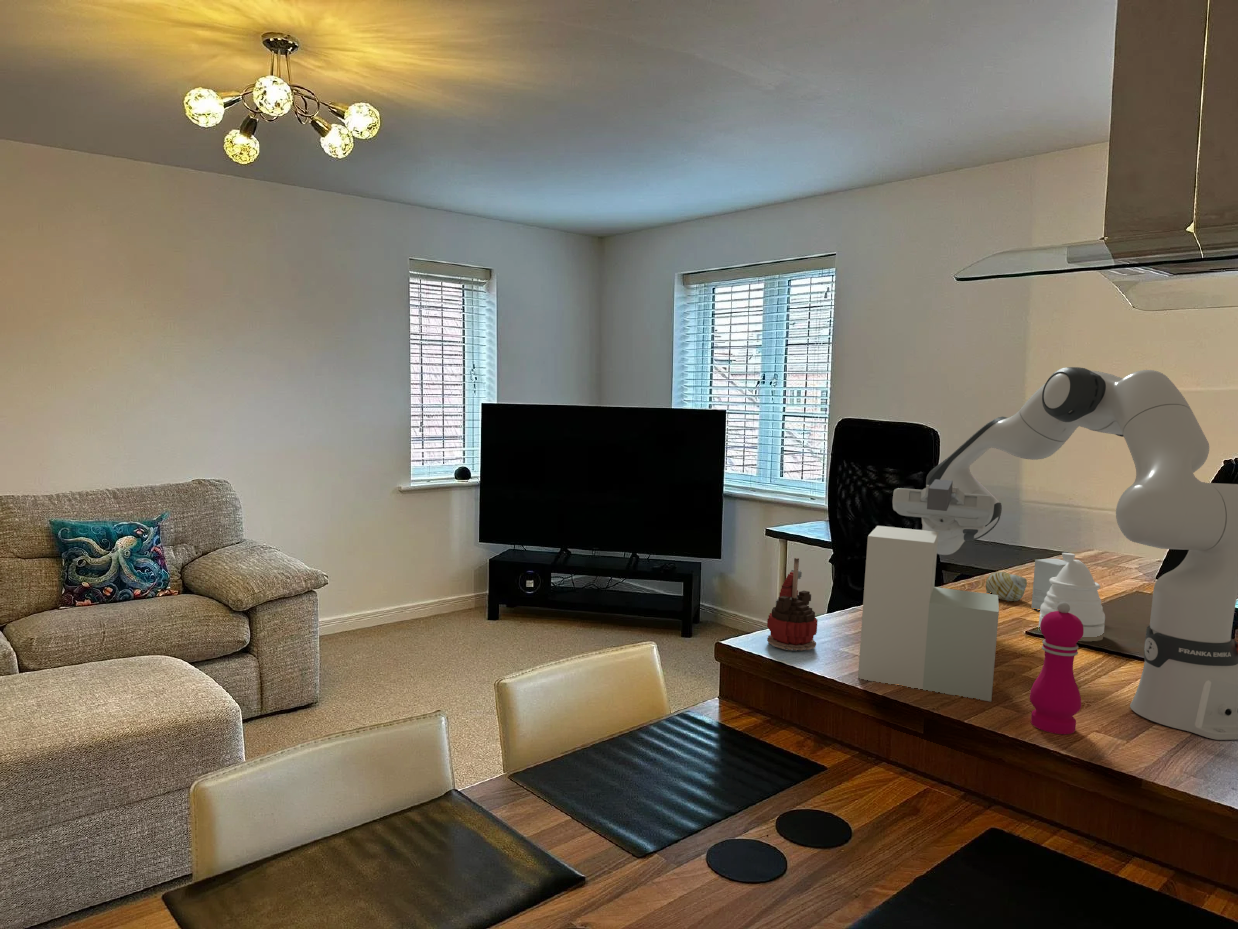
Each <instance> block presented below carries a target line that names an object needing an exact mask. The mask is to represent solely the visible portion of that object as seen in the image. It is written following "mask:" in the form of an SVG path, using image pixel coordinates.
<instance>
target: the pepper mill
mask: <svg viewBox="0 0 1238 929" xmlns="http://www.w3.org/2000/svg"><path fill="white" fill-rule="evenodd" d="M1057 609H1058V611H1054V612H1050V613H1048V614H1046V615H1045V616H1044V617H1043V618H1042V621H1041V624H1040V630H1041V634H1042V635H1043V637H1044V639H1043V640H1042V641H1041V642H1042V645H1041V649H1042V650H1043V651H1044V659H1043V665H1042V668H1041V670H1040V672H1039V674H1038V676H1037V677H1036V679H1035V680H1034V682H1033V683H1032V686H1031V688H1030V693H1029V700H1030V703H1031V705H1032V706H1033V708H1034V709H1033V710H1031V716H1030V723H1031V725H1032V726H1033V727H1034V728H1036V729H1038V730H1040V731H1044V732H1047V733H1050V734H1056V735H1072V734H1073V733H1075V731H1076V726H1077V725H1076V724H1077V720H1076V718H1075V717H1074V716H1075V715H1076V714H1077V713H1079V712H1080V710H1081V708H1082V697H1081V693H1080V690H1079V687H1078V685H1077V682H1076V679H1075V676H1074V661H1075V656H1077V655H1078V654H1079V652H1078V650H1079V645H1078V644H1077V643H1078V641H1079V640H1080V639H1081V638H1082V636H1083V633H1084V629H1083V624H1082V622H1081V621H1080V619H1079V618H1078V617H1076V616H1075V615H1073V614H1071V613H1068V612H1069V610H1070V606H1069V604H1067V603H1066V602H1061V603H1059V604H1058V606H1057Z"/></svg>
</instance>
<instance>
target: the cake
mask: <svg viewBox="0 0 1238 929" xmlns="http://www.w3.org/2000/svg"><path fill="white" fill-rule="evenodd" d="M799 564H800V558H799V557H794V562H793V569H791V570H790V571H789V573H788V574H787V576H786V578H785V579H784V581H783V583H782V585H781V588H780V592H779V593H778V594H779V596H778V598H776V600H775V607H772V609H771V612H770V613H769V615H768V618H767V621H766V622H767V623H766V626H767V629H768V630H769V632H770V633H769V634H770V635H768V636H767V637H766V638H767V640H766V641H767V642H768V644H769V645H772V646H773V647H776V648H778V649H782V650H786V649H787V650H786V651H789V650H790V651H793V650H795V651H797V650H800V651H805V650H806V651H810V650H813V649H815V648H816V645H817V642H816V641H815V639H814V638H815V635H817V633H818V622H819V621H818V620H819V619H818V618H816V611H814V610H813V607H810V602H811V601H812V594H811V593H810V591H808V590H801V591H799V590H798V584H799V583H798V582H799V580H800V579H801V578H802V576H803V575H802V574H803V573H802V570H799V567H800V566H799Z"/></svg>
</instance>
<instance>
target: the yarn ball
mask: <svg viewBox="0 0 1238 929" xmlns="http://www.w3.org/2000/svg"><path fill="white" fill-rule="evenodd" d="M1027 585H1028V581H1027V578H1025V577H1023V576H1020V575H1018V574H1012V573H1009V572H1006V571H996V572H993V573H991V574H990V575H989V574H988V576H987V578H986V580H985V590H986V593H989V594H990V592H991V593H992V594H995V595H998V600H999V599H1000V600H1001V599H1002V601H1004V600H1007V601H1006V602H1009V601H1014V602H1018V601H1020V600H1021V599H1022V598H1023V597H1024V594H1025V591H1026V588H1027Z"/></svg>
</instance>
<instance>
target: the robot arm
mask: <svg viewBox="0 0 1238 929" xmlns="http://www.w3.org/2000/svg"><path fill="white" fill-rule="evenodd" d="M1079 427H1081V428H1084V429H1088V430H1090V431H1093V432H1097V433H1103V434H1110V435H1115V436H1118V437H1123V438H1124V440H1125V443H1126V446H1127V447H1128V450H1129V452H1130V456H1131V458H1132V461H1133V463H1134V468H1135V474H1136V475H1135V478H1134V482H1133V483H1132V484H1131V485H1130V486H1129V487H1127V488H1126V489H1125V491H1124V492H1122V493H1121V495H1120V497H1119V499H1118V501H1117V504H1116V508H1115V509H1116V510H1115V521H1116V522H1117V525H1118V528H1119V530H1120V532H1121V533H1122V534H1123V536H1124V537H1125V538H1126V539H1127V540H1128V541H1129V542H1132V543H1136V544H1139V545H1143V546H1148V547H1150V548H1151V547H1152V548H1157V549H1163V550H1184V551H1185V550H1187V554H1186V555H1185V557H1184V558H1183V560H1182V561H1181V562H1180V564H1179V565H1177V566H1176V567H1175V568H1174V569H1172V570H1170V571H1168V572H1166V573H1164V574H1162V575H1161V576H1160V577H1158V579H1157V580H1156V581H1155V584H1154V586H1153V590H1152V592H1153V593H1152V602H1151V611H1150V622H1149V625H1148V626H1146V631H1145V637H1144V638H1145V639H1144V646H1143V647H1144V649H1143V659H1144V662H1143V669H1142V671H1141V672H1142V673H1141V677H1140V679H1139V683H1138V687H1137V689H1136V691H1135V693H1134V696H1133V698H1132V700H1131V702H1130V705H1129V707H1130V709H1131V710H1132V711H1133V712H1134V713H1136V714H1137V715H1139V716H1141V717H1142V718H1145V719H1147V720H1150V721H1151V722H1154V723H1157V724H1160V725H1163V726H1166V727H1170V728H1173V729H1178V730H1182V731H1187V732H1190V733H1193V734H1196V735H1199V736H1202V737H1205V738H1209V739H1212V740H1216V741H1217V740H1218V741H1220V740H1221V741H1222V740H1225V741H1226V740H1227V741H1228V740H1238V642H1237V641H1235V640H1234V639H1232V630H1233V622H1234V615H1235V611H1236V604H1237V600H1238V599H1237V598H1238V483H1219V482H1218V483H1216V482H1214V483H1213V482H1205V481H1204V482H1203V481H1201V480H1199V479H1198V478H1197V476H1196V475H1195V474H1194V473H1195V472H1197V471H1199V470H1200V468H1202V466H1204V464H1205V463H1206V461H1207V460H1208V456H1209V453H1210V444H1209V441H1208V439H1207V437H1206V434H1205V433H1204V432H1203V430H1202V427H1201V426H1200V424H1199V421H1198V419H1197V418H1196V416H1195V414H1194V412H1193V410H1192V408H1191V406H1190V404H1189V403H1188V401H1187V400H1186V399H1185V397H1184V395H1183V394H1182V392H1181V391H1180V389H1179V388H1178V387H1177V386H1176V385H1175V384H1174V383H1173V381H1172V380H1171V379H1170V378H1169V377H1168V376H1167V375H1166V374H1164V373H1163V372H1160V371H1157V370H1154V369H1142V370H1138V371H1134V372H1131V373H1129V374H1127V375H1125V376H1124V377H1120V376H1116V375H1114V374H1112V373H1108V372H1103V371H1097V370H1090V369H1087V368H1085V367H1078V366H1077V367H1076V366H1070V367H1069V366H1068V367H1067V366H1066V367H1061V368H1060V369H1058V370H1056V371H1054V372H1053V373H1052V374H1051V376H1049V378H1048V379H1047V381H1046V382H1045V383H1044V384H1043V385H1041V386H1040V387H1039V388H1038V389H1036V391H1035V392H1034V393H1033V394H1031V396H1030V397H1029V398H1028V399H1027V400H1026V401H1025V402H1024V404H1023V405H1022V406H1021V408H1020V409H1019V410H1018V411H1017V412H1015V413H1014V414H1013V415H1012V416H1010V417H1006V416H1000V417H999V416H998V417H996V418H994V419H992V420H990V421H988V422H987V423H985V425H983V426H981V427H980V428H979V430H977V431H976V432H975V433H973V435H972V436H970V437H969V438H968V439H967V440H966V441H965V442H964V443H962V444H961V445H960V446H959V447H958V448H957V449H956V450H955V451H954V452H953V453H951V454H950V455H949V456H948V457H947V458H945V459H944V460H943V461H941V462H940V463H938V464H937V465H936V466H935V467H933V468H932V469H931V470H930V471H929V472H928V474H927V475H926V480H925V487H924V488H923V489H915V488H905V487H904V488H902V487H900V488H899V487H898V488H895V489H894V490H893V493H892V495H893V496H892V509H893V511H894V512H896V513H897V514H898V515H900V516H905V517H913V518H921V524H922V528H921V530H926V531H936V532H938V545H937V555H943V556H948V555H953V554H954V553H956V552H957V551H958V550H960V548H961V547H962V545H963V544H964V543H965V542H966V541H967V542H971V541H975V540H979V539H980V538H983V537H984V536H985V535H987V534H989V533H990V532H991V531H992V530H993V529H994V528H995V527H996V526H997V525H998V523H999V521H1000V520H1001V516H1002V511H1003V510H1002V509H1003V507H1002V503H1001V502H1000V501H999V500H998V499H997V498H996V496H994V495H993V494H992V493H991V491H989V490H988V488H986V487H985V486H984V485H983V484H982V483H981V482H980V481H979V480H978V479H977V478H976V477H975V476H974V475H973V474H972V472H971V470H970V467H971V465H972V464H973V463H975V462H976V461H977V460H978V459H980V457H981V456H983V455H984V454H985V453H986V452H988V451H989V450H990V449H991V448H992V449H996V450H999V451H1002V452H1005V453H1007V454H1009V455H1012V456H1014V457H1016V458H1020V459H1023V460H1033V461H1035V460H1036V461H1037V460H1043V459H1047V458H1049V457H1051V456H1053V455H1054V454H1056V453H1057V451H1059V450H1060V449H1061V448H1062V447H1063V446H1064V445H1065V444H1066V442H1067V441H1068V440H1069V439H1070V438H1071V436H1072V435H1073V434H1074V432H1075V431H1076V430H1077V429H1078V428H1079ZM935 479H938V480H951V481H953V485H952V488H951V502H950V504H949V506H948V509H947V511H941V510H930V509H927V501H928V488H929V487H930V485H931V484H932V483H933V482H934V480H935Z"/></svg>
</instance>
